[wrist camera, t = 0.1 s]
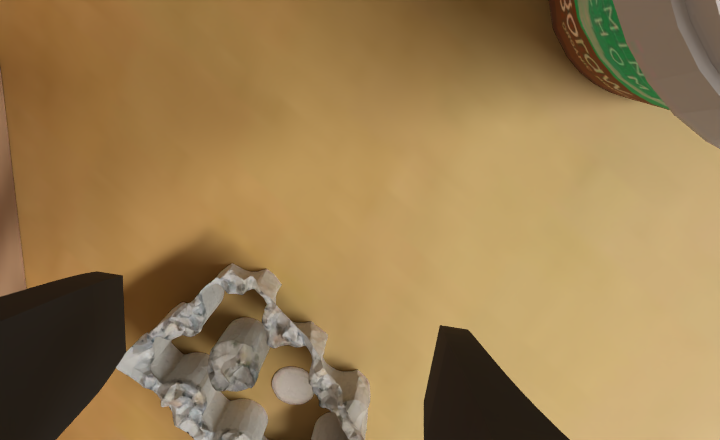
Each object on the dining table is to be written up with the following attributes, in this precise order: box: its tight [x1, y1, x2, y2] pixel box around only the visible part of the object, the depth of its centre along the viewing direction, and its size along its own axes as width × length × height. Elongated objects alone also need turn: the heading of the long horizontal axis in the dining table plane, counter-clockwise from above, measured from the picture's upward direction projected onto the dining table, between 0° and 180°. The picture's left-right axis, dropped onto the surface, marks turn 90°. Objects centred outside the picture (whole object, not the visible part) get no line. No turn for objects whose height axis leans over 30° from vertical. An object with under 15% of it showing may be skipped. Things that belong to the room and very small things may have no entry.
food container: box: [549, 0, 720, 149], centre depth 12 cm, size 12×6×10 cm, turn 50°
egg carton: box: [116, 264, 370, 440], centre depth 21 cm, size 11×8×4 cm
